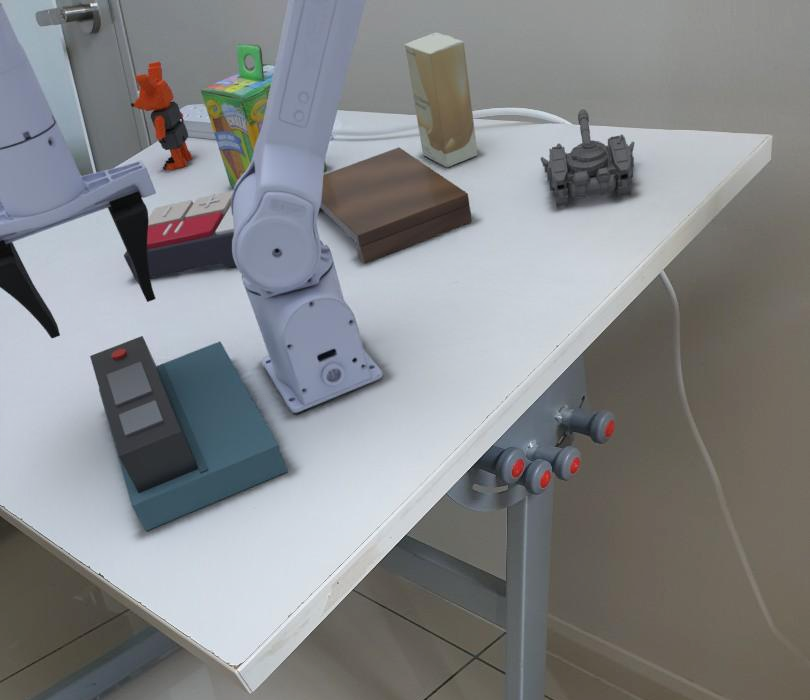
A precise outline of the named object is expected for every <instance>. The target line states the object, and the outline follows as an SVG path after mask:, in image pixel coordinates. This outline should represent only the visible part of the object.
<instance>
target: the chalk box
mask: <svg viewBox="0 0 810 700" xmlns="http://www.w3.org/2000/svg"><path fill="white" fill-rule="evenodd" d="M236 53H237V65H238V66H237V67H238V72H237V73H236V74H233V75H230V76H228V77H227V78H224V79H222V80H219V81H217V82H215V83H212V84H210V85H208V86H206V87H202V88H201V89H200V93H201V96H202V99H203V102H204V104H205V108H206V111H207V114H208V118H209V121H210V125H211V127H212V131H213V134H214V137H215V140H216V144H217V147H218V150H219V154H220V157H221V161H222V163H223V166H224V169H225V173H226V177H227V180H228V182H229V186H231V187H234V186H235V184H236V183H237V181H238V180H239V178H240V177H241V176H242V175H243V174H244V173H245V172H246V170H247V169H248V167H249V165H250V163H251V161H252V157H253V153H254V148H255V144H256V141H257V139H258V136H259V134H260V131H261V129H262V125H263V120H264V115H265V111H266V106H267V101H268V96H269V91H270V87H271V82H272V77H273V72H274V67H275V64H270V63H263V61H264V60H263V52H262V47H261V46H260V45H259V44H250V43H249V44H248V43H237V46H236ZM248 56H251V57H252V59H253V61H254V66H252V67H249V68H248V66H247V63H246V58H247V57H248ZM327 169H328V168H327V164H326V162H325V163H324V171H326V170H327Z"/></svg>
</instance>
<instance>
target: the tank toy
mask: <svg viewBox="0 0 810 700" xmlns="http://www.w3.org/2000/svg"><path fill="white" fill-rule="evenodd" d="M577 121H578V124H579V130H580V136H581V143H579V144H578V145H577V146H574V147H573V148H572V149H571V151H570V152H569V153H568V152H566V148H565V146H563V145H562V144H561V143H557V144H556V146H551V148H549V150H548V151H549V160H548V159H547V158H544V156H541V157H540V162H541V164H542V167H543V168H544V173H546V176H547V182H549V191H550V192H552V197H554V204H555V206H556V207H557V206H565V205H568V204H569V196H571V197H573V199H576V198H578V199H584V198H586V197H587V196H595V195H599V194H600V195H603V196H604V195H608V194H609V193H612V192H614V191H615V190H616V192H617V196H618V197H619V196H620V197H621V196H627V195H632V183H633V179H632V178H634V168H635V159H634V158H635V157H634V156H633V155H634V154H633V153H634V152H633V151H634V148H635V142H634V141H631V142H630V144H628V143H627V140H626V137H625V136H624V134H620V135H615V136H611V137H609V138H607V145H605V143H603V142H601V141H600V140H591V139H592V138H591V130H590V124H589V122H590V117H589V113H588V111H587V110H586V109H580V110H579V111H578V114H577Z"/></svg>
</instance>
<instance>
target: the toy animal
mask: <svg viewBox="0 0 810 700" xmlns="http://www.w3.org/2000/svg"><path fill="white" fill-rule="evenodd" d="M135 82H136V83H137V84H138V86H139V89H138V90H137V91H136V93H137V97H138V98H136V99H135V101H134V102H132V103H130V106H131V108H134V109H138V110H142V111H143V110H144V111H146V112H149V111H150V112H151V113H150V119H151V122H152V124H153V127H154V130H155V138H156V140H158V143H159V144H160V145H161V148H162V149H164V151H169V152H170V157H168V158H167V160H165V163H164V164H163V165H164V166H163V167H162V169H163V171H174V170H175V169H181V168H184V167H187V166H188V163H187V162H188V161H190V160H193V156H192V153H191V151H189V148H188V146H187V145H188V144H187V143H186V141H187V140H188V138H189V131H188V130H187V127H186V124H185V120H184V114H183V112H182V111H181V110H180V106H179V104H178V103H177V102H176V101H173V100H174V99H175V96H174V94H173V90H172V88H171V86H169V84H168V83H167V82H166V81H165V79H163V69H162V63H161V62H160V61H155V62H150V63H148V68H147V74H146V73H142V74H137V75H135Z"/></svg>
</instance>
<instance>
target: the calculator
mask: <svg viewBox="0 0 810 700" xmlns="http://www.w3.org/2000/svg"><path fill="white" fill-rule="evenodd" d="M232 192H233V190H231V191H230V190H229V191H225V192H221V193H217V194H212V195H206V196H203V197H198V198H196V199H195V200H194V202H193V200H192V199H190V200H185V201H179V202H175V203H171V204H166V205H161V206H156V207H155V208H154V209H153V210H152V212H151V213H150V214H149V215H148V221H149V222H148V235H147V255H148V267H149V274H150V279H152V278H157V277H162V276H166V275H172V274H177V273H182V272H188V271H192V270H193V271H194V270H197V269H203V268H208V267H214V266H217V265H222V266H226V267H228V268H237V267H236V265H235V262H234V259H233V254H232V239H233V236H234V221H233V215H232V210H231V196H232ZM123 258H124V260H125V262H126V264H127V266H128V269H129V270H130V272H131V275H132V276H133V278H134V280H135V281H137V278H136V276H135V273H134V270H133V267H132V264H131V261H130V258H129V255H128V253H127V250H126V251H125V252H124V254H123Z"/></svg>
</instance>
